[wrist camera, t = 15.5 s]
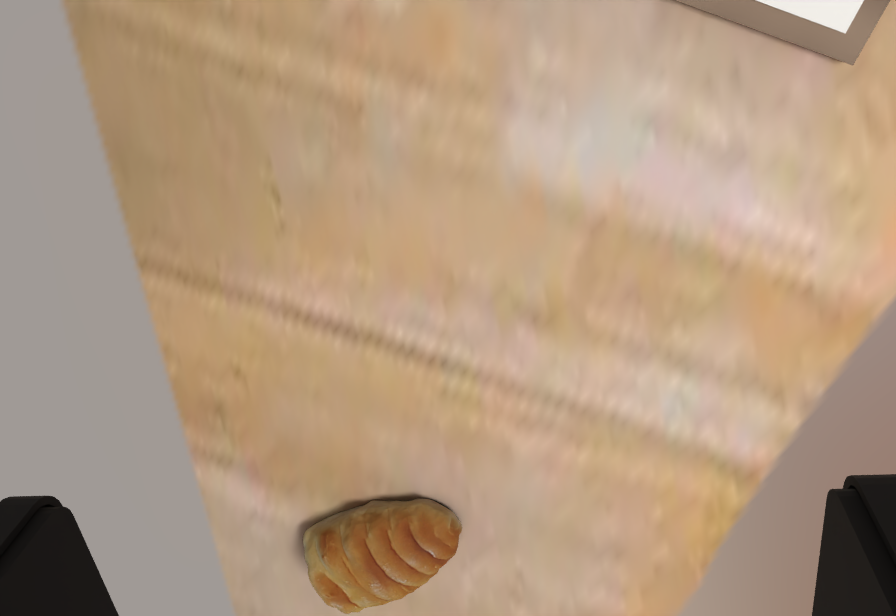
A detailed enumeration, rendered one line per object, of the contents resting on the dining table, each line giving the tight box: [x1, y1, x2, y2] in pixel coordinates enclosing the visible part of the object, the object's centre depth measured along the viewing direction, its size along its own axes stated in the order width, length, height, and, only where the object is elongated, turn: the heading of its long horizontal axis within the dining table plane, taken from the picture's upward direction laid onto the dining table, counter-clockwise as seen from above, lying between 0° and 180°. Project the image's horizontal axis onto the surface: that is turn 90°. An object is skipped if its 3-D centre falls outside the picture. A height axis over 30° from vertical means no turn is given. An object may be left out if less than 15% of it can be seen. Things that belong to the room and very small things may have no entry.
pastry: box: [303, 498, 462, 614], centre depth 47 cm, size 9×7×4 cm
